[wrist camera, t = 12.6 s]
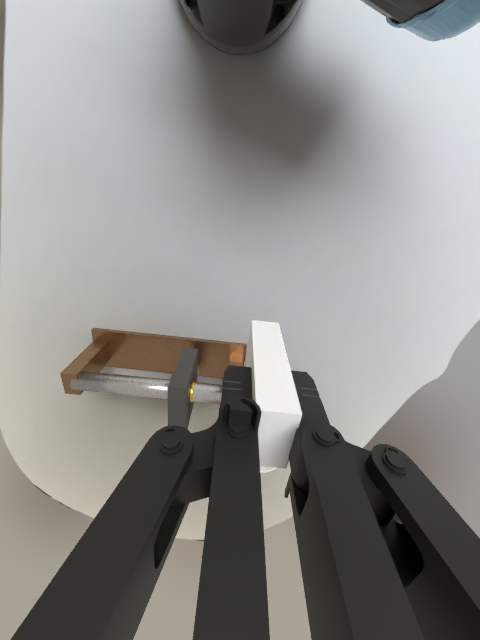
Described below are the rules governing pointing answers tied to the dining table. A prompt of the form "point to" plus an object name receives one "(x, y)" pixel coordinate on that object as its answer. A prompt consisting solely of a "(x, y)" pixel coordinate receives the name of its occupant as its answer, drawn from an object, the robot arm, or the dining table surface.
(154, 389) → the pipe rig
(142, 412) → the dining table surface
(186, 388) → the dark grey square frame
